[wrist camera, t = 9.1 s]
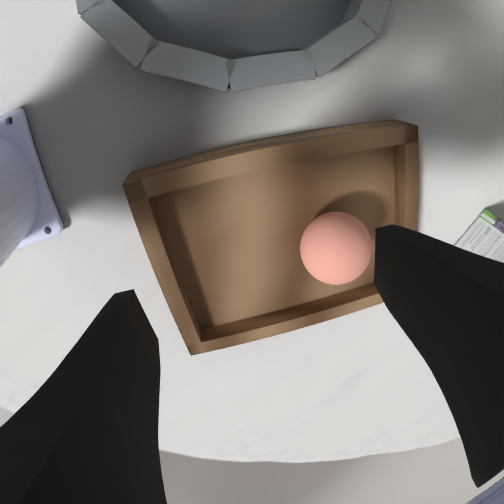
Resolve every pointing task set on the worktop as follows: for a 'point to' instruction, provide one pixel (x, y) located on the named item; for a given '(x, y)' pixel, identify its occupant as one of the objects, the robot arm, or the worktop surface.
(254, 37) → the bowl
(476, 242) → the syrup box
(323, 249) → the ball
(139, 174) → the tray
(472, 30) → the worktop surface
